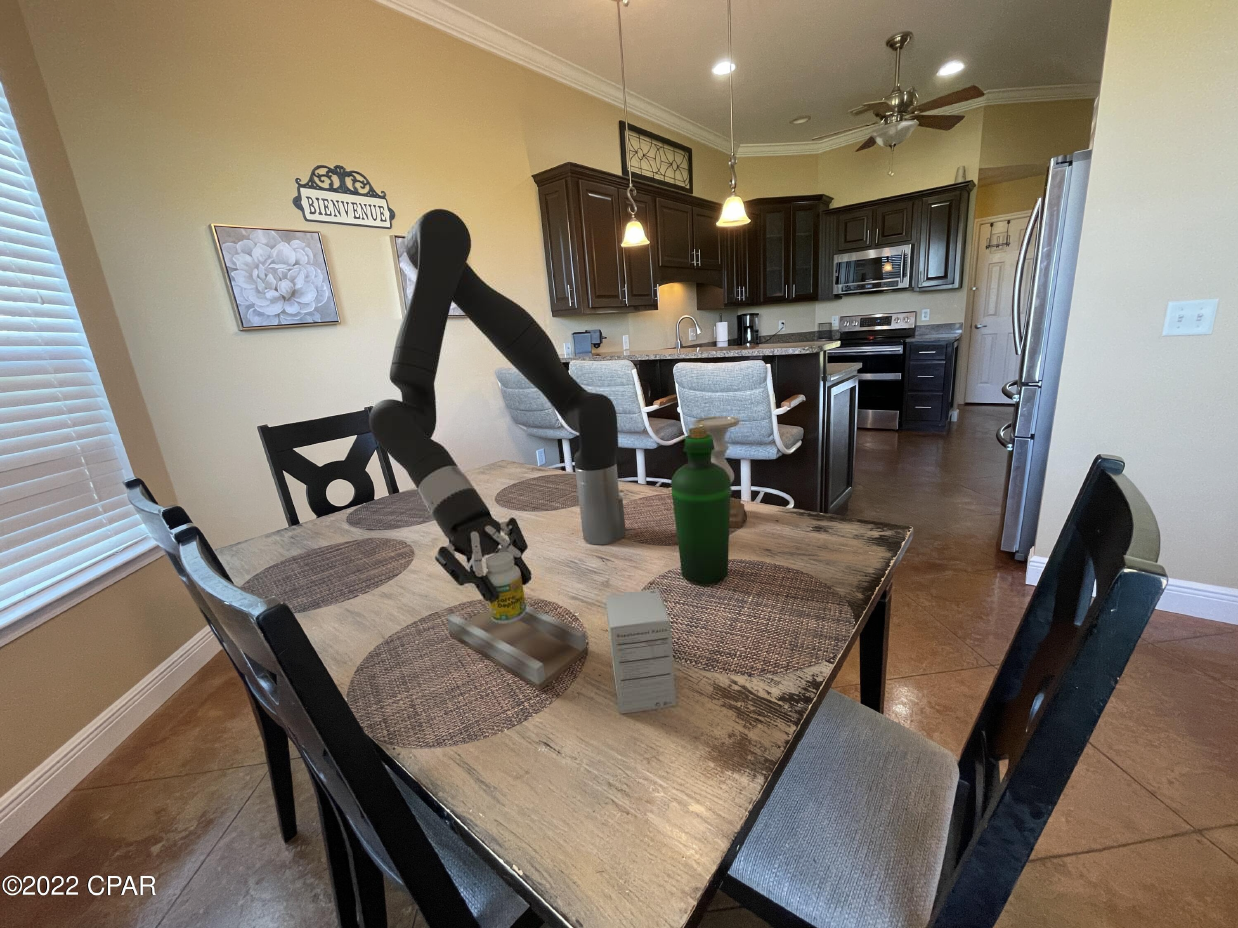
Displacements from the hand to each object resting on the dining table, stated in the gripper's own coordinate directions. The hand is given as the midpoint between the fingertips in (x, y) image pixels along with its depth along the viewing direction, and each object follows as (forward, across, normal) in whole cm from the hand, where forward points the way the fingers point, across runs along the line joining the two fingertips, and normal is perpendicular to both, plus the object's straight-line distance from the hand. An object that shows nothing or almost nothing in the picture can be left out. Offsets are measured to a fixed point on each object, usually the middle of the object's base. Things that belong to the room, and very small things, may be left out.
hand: (512, 590), depth 70 cm
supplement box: (+22, +3, -8) cm, 24 cm away
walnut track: (+6, 0, +8) cm, 10 cm away
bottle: (+16, +33, -2) cm, 37 cm away
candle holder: (+9, +59, +5) cm, 60 cm away
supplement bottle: (+2, 0, +5) cm, 5 cm away
